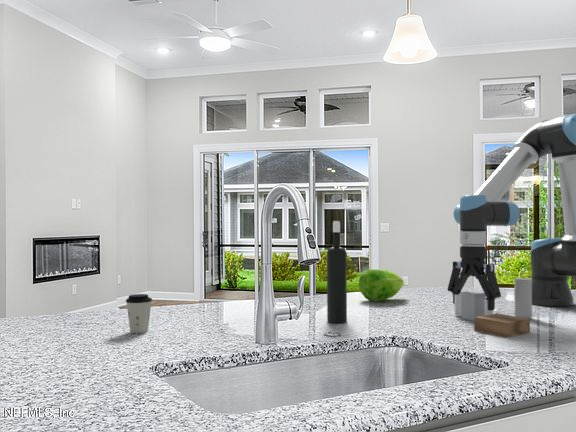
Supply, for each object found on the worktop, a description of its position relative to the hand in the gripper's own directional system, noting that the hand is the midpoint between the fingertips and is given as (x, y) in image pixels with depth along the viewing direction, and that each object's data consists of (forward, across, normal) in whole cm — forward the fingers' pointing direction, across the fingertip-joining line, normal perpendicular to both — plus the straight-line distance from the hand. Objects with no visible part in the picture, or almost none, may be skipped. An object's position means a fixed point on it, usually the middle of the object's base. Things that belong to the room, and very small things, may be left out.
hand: (473, 318), depth 156 cm
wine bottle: (+1, -18, -38) cm, 42 cm away
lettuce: (0, -42, +1) cm, 42 cm away
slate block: (0, 0, 0) cm, 0 cm away
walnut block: (+1, +16, -8) cm, 18 cm away
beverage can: (0, +7, +14) cm, 16 cm away
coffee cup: (+1, -35, -92) cm, 98 cm away
